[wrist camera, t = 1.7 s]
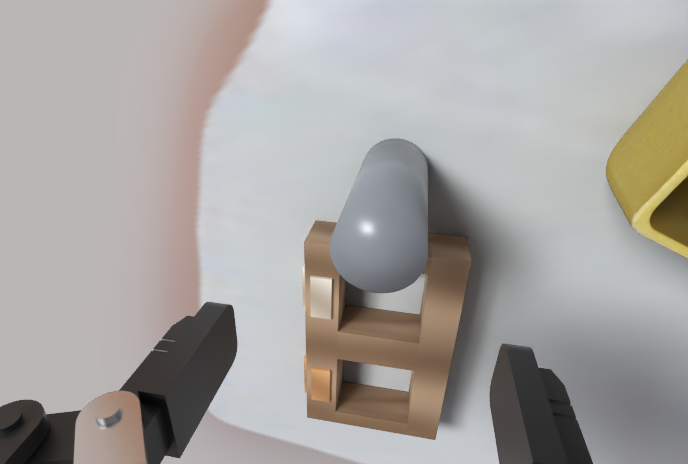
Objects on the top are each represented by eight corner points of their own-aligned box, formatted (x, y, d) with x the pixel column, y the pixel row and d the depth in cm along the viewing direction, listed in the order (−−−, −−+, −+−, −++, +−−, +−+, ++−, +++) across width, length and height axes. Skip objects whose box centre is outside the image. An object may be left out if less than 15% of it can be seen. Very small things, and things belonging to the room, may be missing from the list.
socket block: (311, 220, 28) (298, 242, 26) (467, 236, 27) (471, 263, 24) (312, 387, 36) (302, 418, 33) (434, 407, 35) (435, 442, 32)
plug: (364, 136, 25) (330, 203, 16) (432, 141, 25) (433, 213, 16) (361, 197, 27) (329, 286, 18) (424, 203, 27) (421, 298, 18)
